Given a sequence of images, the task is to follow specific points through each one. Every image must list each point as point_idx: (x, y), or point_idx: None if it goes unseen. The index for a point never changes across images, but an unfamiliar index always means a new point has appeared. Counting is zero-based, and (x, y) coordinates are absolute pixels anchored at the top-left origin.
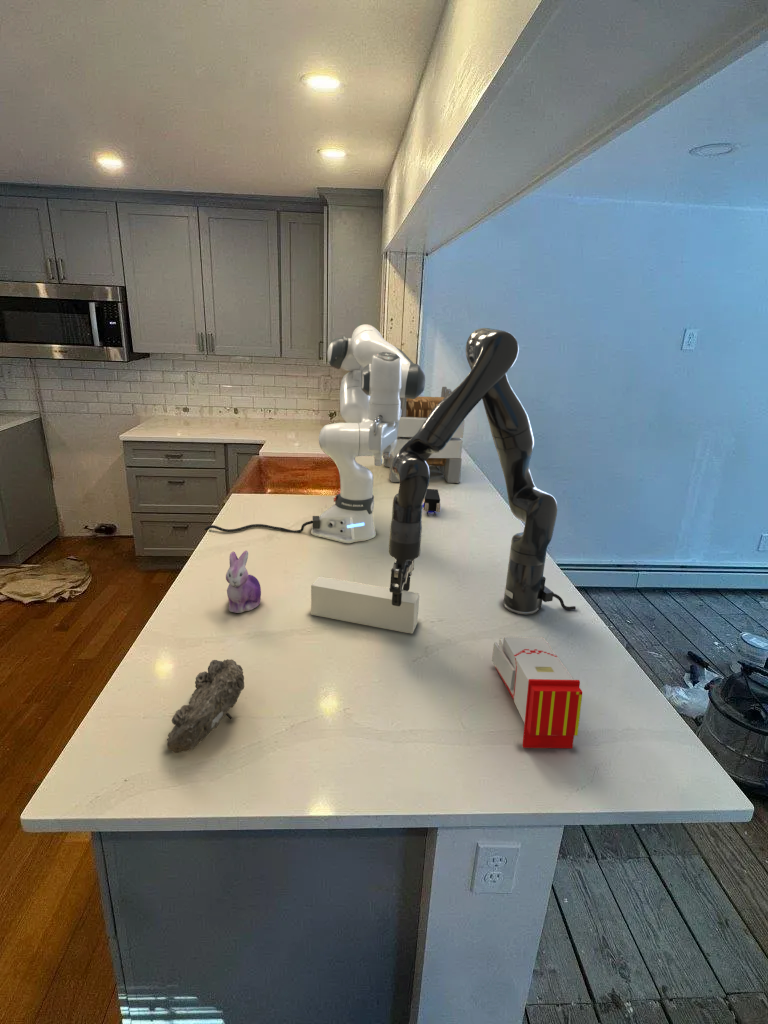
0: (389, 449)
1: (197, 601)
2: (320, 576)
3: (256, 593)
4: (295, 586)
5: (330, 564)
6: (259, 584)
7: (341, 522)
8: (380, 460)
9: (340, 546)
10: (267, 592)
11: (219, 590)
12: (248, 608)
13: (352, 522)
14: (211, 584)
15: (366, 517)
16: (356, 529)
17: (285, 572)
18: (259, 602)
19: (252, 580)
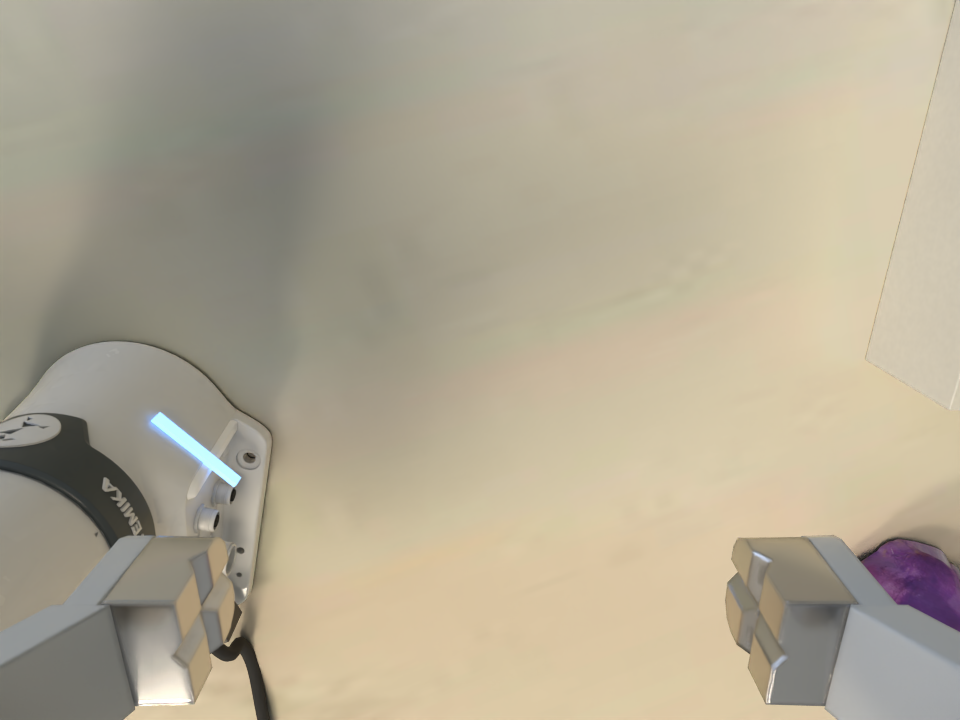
0: (41, 661)
1: None
2: (954, 405)
3: (948, 572)
4: (735, 485)
5: (509, 432)
6: (916, 589)
7: (217, 522)
8: (889, 604)
9: (311, 452)
10: None
11: None
12: (945, 557)
13: (201, 473)
14: (773, 710)
15: (116, 424)
16: (203, 435)
17: (630, 555)
18: (903, 543)
19: (952, 620)
